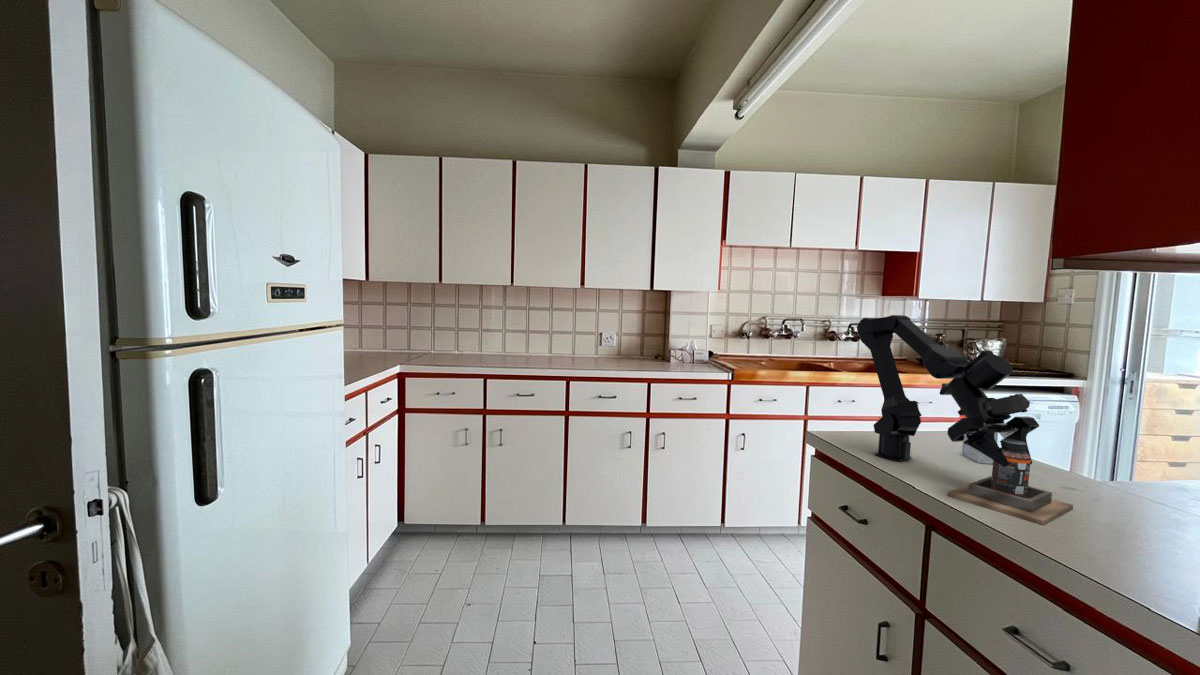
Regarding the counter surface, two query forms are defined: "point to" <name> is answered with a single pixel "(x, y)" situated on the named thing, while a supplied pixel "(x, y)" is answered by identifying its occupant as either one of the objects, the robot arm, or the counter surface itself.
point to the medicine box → (976, 452)
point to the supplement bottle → (1012, 469)
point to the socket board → (1013, 501)
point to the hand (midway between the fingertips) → (1018, 465)
